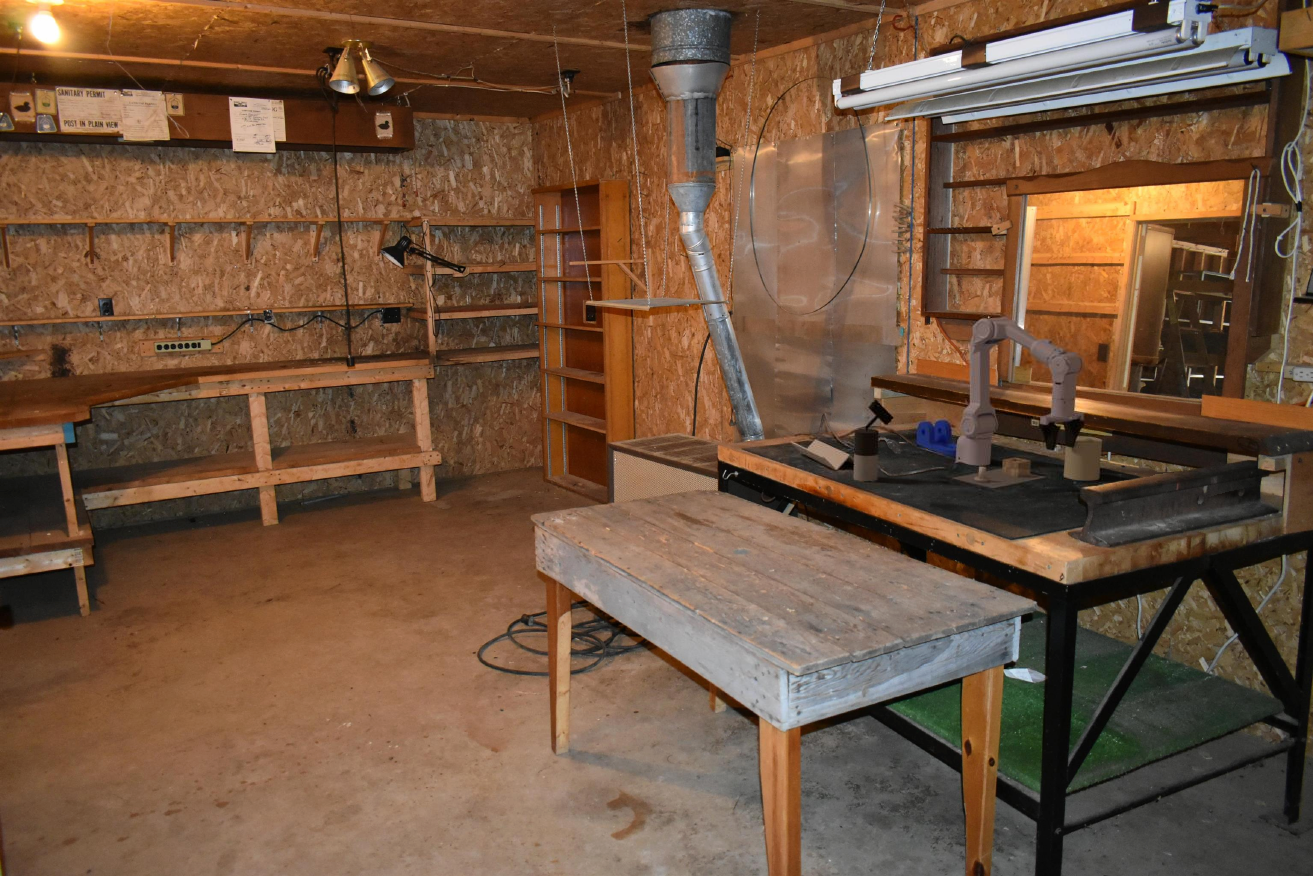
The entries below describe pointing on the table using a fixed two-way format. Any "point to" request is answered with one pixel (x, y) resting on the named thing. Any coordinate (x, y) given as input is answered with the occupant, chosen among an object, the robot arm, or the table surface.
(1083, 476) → the can
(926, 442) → the bracket
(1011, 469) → the ash collar
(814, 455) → the beige v-shaped trough
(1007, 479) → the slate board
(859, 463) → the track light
